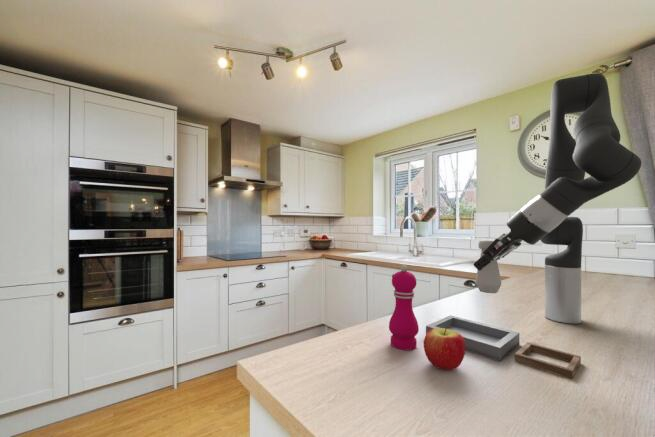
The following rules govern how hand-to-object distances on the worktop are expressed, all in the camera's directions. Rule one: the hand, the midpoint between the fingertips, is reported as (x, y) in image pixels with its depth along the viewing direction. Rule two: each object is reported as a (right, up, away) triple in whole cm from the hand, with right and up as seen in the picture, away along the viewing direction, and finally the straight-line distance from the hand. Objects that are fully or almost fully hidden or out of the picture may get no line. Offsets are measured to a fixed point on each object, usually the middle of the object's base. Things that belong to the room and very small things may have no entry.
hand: (479, 266), depth 75 cm
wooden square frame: (+10, -20, -10) cm, 24 cm away
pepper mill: (-20, -19, -2) cm, 28 cm away
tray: (-2, -20, +1) cm, 20 cm away
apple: (-14, -19, -13) cm, 28 cm away
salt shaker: (+1, -6, -2) cm, 6 cm away
